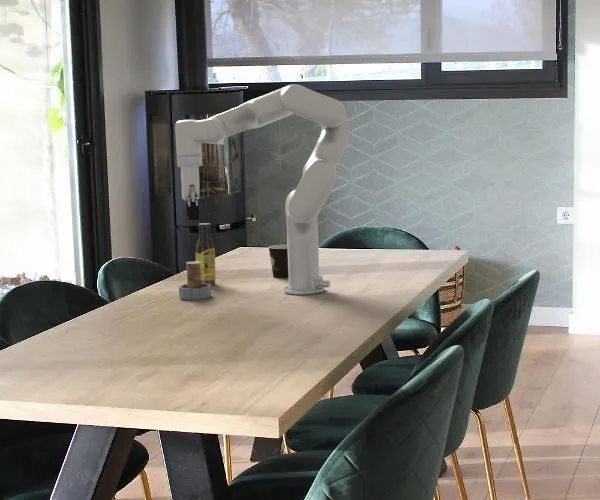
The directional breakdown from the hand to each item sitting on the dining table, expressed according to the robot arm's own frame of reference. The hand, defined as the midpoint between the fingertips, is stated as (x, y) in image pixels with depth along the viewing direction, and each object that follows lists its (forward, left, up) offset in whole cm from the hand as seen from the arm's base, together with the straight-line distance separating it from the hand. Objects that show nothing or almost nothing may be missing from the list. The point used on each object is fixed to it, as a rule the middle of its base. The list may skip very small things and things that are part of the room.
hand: (192, 217), depth 338 cm
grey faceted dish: (0, +1, -24) cm, 24 cm away
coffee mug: (-8, -40, -25) cm, 48 cm away
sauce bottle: (+8, -18, -25) cm, 32 cm away
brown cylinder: (0, 0, -24) cm, 24 cm away
